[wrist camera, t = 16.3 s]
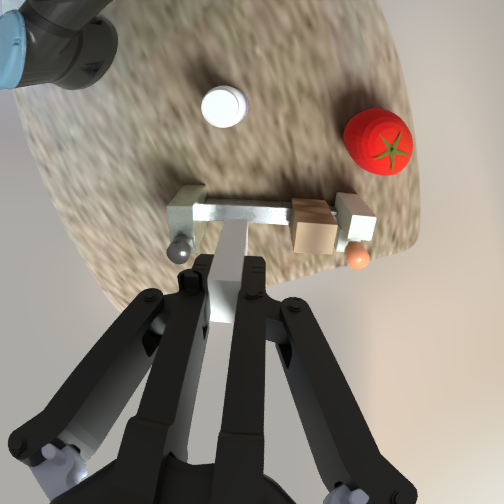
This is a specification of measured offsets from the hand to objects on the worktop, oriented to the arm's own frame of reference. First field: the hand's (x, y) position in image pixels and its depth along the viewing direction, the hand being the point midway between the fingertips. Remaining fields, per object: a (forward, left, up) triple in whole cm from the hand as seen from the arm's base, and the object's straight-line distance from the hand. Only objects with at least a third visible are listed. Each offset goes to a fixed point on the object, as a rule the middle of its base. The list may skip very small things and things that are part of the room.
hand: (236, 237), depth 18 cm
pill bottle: (-4, +8, -30) cm, 31 cm away
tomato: (+19, +5, -30) cm, 36 cm away
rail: (+1, -10, -29) cm, 31 cm away
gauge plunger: (+17, -12, -22) cm, 31 cm away
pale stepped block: (+17, -10, -29) cm, 35 cm away
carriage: (+10, -10, -29) cm, 33 cm away
